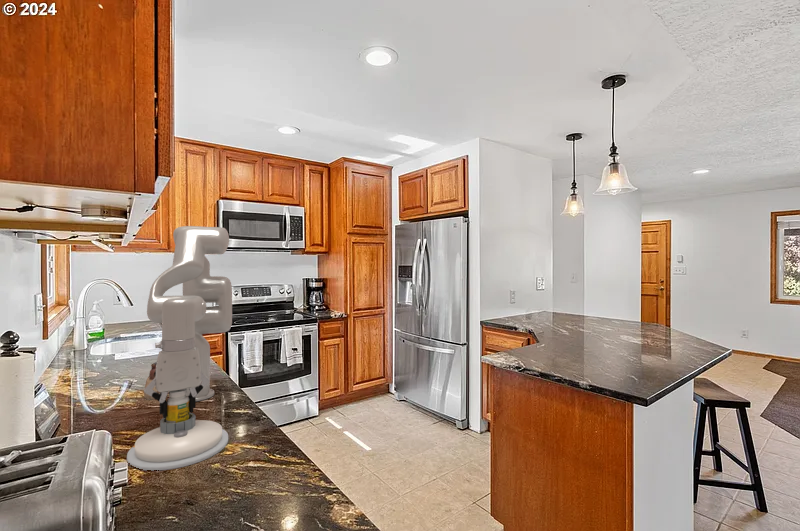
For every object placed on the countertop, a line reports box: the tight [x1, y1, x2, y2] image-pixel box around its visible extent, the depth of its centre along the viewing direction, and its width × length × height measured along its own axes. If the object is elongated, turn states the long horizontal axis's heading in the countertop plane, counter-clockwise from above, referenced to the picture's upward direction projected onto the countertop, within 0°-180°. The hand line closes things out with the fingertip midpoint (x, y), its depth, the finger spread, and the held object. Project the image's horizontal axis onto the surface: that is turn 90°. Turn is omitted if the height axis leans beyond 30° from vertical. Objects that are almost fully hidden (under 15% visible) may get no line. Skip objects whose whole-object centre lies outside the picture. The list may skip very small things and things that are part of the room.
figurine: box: [143, 361, 169, 400], centre depth 135 cm, size 7×7×12 cm
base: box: [126, 428, 229, 472], centre depth 96 cm, size 22×22×1 cm
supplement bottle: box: [166, 389, 190, 423], centre depth 101 cm, size 5×5×10 cm
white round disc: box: [134, 412, 223, 462], centre depth 96 cm, size 19×19×4 cm
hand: (177, 413), depth 101 cm, fingers closed on supplement bottle, 5 cm apart
